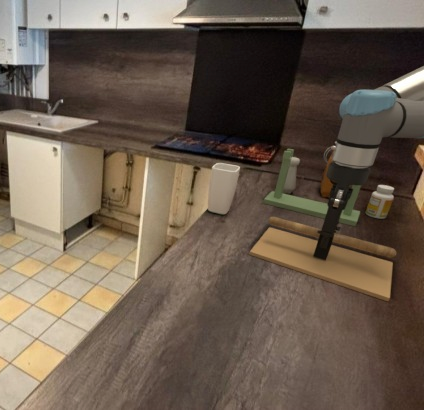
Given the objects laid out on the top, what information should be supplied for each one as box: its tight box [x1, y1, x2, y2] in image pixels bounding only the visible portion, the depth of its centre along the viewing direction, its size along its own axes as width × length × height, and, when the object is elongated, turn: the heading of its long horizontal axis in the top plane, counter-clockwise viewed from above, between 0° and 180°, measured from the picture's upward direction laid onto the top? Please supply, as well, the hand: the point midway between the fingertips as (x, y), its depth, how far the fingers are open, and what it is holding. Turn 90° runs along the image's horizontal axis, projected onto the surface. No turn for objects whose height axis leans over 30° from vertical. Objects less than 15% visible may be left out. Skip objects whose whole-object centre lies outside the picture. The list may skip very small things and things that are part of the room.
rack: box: [262, 148, 362, 227], centre depth 114 cm, size 26×10×18 cm, turn 50°
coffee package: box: [320, 150, 352, 199], centre depth 125 cm, size 10×12×22 cm
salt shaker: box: [283, 156, 301, 195], centre depth 129 cm, size 6×6×13 cm
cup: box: [207, 162, 241, 216], centre depth 112 cm, size 7×7×15 cm
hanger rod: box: [268, 216, 397, 259], centre depth 86 cm, size 26×2×2 cm, turn 50°
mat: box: [248, 226, 394, 303], centre depth 89 cm, size 28×18×1 cm, turn 50°
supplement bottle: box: [365, 184, 395, 220], centre depth 112 cm, size 5×5×10 cm
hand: (320, 255), depth 88 cm, fingers closed on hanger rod, 2 cm apart
